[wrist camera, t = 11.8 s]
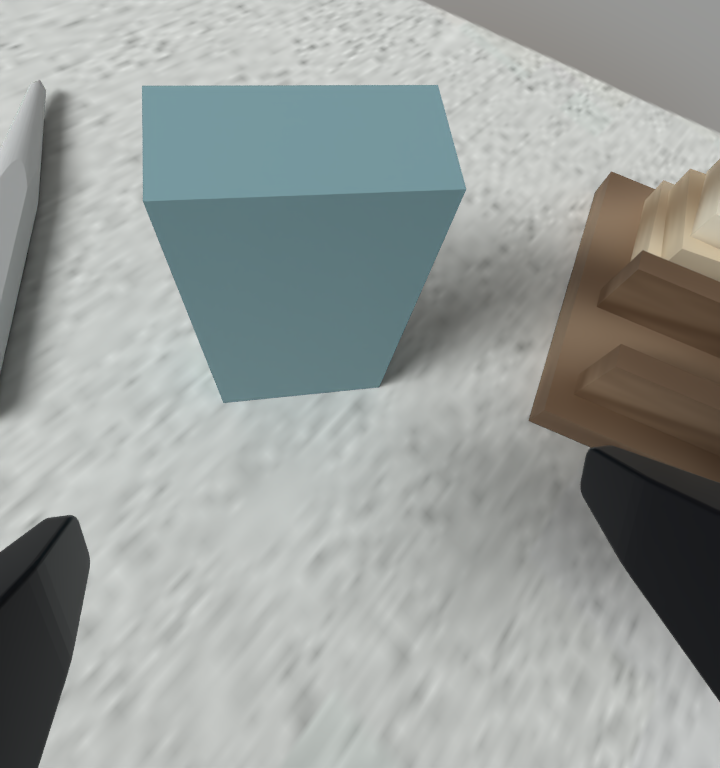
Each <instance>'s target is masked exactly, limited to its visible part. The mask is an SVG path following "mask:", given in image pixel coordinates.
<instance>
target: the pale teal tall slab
mask: <svg viewBox="0 0 720 768" xmlns="http://www.w3.org/2000/svg"><path fill="white" fill-rule="evenodd" d="M142 125H143V202H144V205H145V207H146V210H147V212H148V215H149V217H150V220H151V222H152V225H153V227H154V230H155V232H156V235H157V237H158V240H159V242H160V245H161V248H162V250H163V253H164V255H165V258H166V260H167V263H168V265H169V268H170V270H171V273H172V275H173V278H174V280H175V283H176V285H177V288H178V290H179V293H180V295H181V298H182V300H183V303H184V305H185V308H186V310H187V313H188V315H189V318H190V320H191V323H192V325H193V328H194V330H195V333H196V335H197V338H198V340H199V343H200V345H201V348H202V350H203V353H204V355H205V358H206V360H207V363H208V365H209V368H210V370H211V373H212V375H213V378H214V380H215V383H216V385H217V388H218V390H219V393H220V395H221V398H222V400H223V403H228V402H238V401H248V400H257V399H267V398H277V397H287V396H297V395H307V394H317V393H327V392H336V391H346V390H356V389H366V388H376V387H379V386H380V384H381V381H382V379H383V377H384V375H385V372H386V370H387V368H388V366H389V363H390V361H391V359H392V356H393V354H394V352H395V350H396V347H397V345H398V343H399V341H400V338H401V336H402V334H403V331H404V329H405V327H406V325H407V322H408V320H409V318H410V316H411V313H412V311H413V309H414V307H415V304H416V302H417V300H418V297H419V295H420V293H421V291H422V288H423V286H424V284H425V282H426V279H427V277H428V275H429V273H430V270H431V268H432V266H433V263H434V261H435V259H436V257H437V254H438V252H439V250H440V248H441V245H442V243H443V241H444V238H445V236H446V234H447V232H448V229H449V227H450V225H451V223H452V220H453V218H454V216H455V214H456V211H457V209H458V207H459V204H460V202H461V200H462V198H463V195H464V193H465V191H466V187H465V183H464V179H463V176H462V172H461V168H460V165H459V161H458V157H457V154H456V150H455V146H454V143H453V139H452V135H451V132H450V128H449V124H448V121H447V117H446V113H445V110H444V106H443V102H442V99H441V95H440V91H439V88H438V85H298V86H142Z"/></svg>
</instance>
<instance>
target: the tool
mask: <svg viewBox="0 0 720 768" xmlns="http://www.w3.org/2000/svg"><path fill="white" fill-rule="evenodd" d="M45 98H46V90H45V88H44V86H43V84H42V83H41V81H40V80H38V81H35V82H33V83H31V84H30V86H29V88H28V90H27V92H26V94H25V96H24V99H23V101H22V103H21V105H20V107H19V109H18V112H17V114H16V116H15V118H14V120H13V122H12V125H11V127H10V129H9V131H8V133H7V135H6V138H5V140H4V142H3V144H2V146H1V149H0V373H1V368H2V364H3V359H4V355H5V350H6V346H7V341H8V337H9V332H10V328H11V323H12V319H13V314H14V310H15V305H16V301H17V296H18V292H19V287H20V283H21V278H22V274H23V269H24V265H25V260H26V256H27V251H28V247H29V243H30V238H31V234H32V229H33V225H34V220H35V216H36V211H37V207H38V199H39V185H40V170H41V156H42V141H43V127H44V112H45Z"/></svg>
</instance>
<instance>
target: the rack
mask: <svg viewBox="0 0 720 768" xmlns="http://www.w3.org/2000/svg"><path fill="white" fill-rule="evenodd" d="M654 190H655V189H653V188H650V187H648V186H646V185H643V184H641V183H638V182H636V181H633V180H631V179H628V178H626V177H623V176H621V175H619V174H616V173H614V172H611V173H610V174H609V175H608V177H607V178H606V179H605V180H604V182H603V183H602V184H601V186H600V187H599V188H598V189H597V191H596V192H595V195H594V198H593V202H592V205H591V209H590V212H589V215H588V219H587V222H586V226H585V229H584V233H583V236H582V239H581V243H580V246H579V250H578V253H577V257H576V260H575V263H574V267H573V270H572V274H571V277H570V280H569V284H568V287H567V291H566V294H565V298H564V301H563V304H562V308H561V311H560V315H559V318H558V322H557V325H556V328H555V332H554V335H553V339H552V342H551V346H550V349H549V352H548V356H547V359H546V363H545V366H544V370H543V373H542V376H541V380H540V383H539V387H538V390H537V394H536V397H535V400H534V404H533V407H532V411H531V414H530V418H529V421H530V422H533V423H535V424H537V425H540V426H542V427H545V428H547V429H549V430H552V431H554V432H556V433H559V434H561V435H563V436H566V437H568V438H570V439H573V440H575V441H577V442H580V443H582V444H584V445H587V446H589V447H591V448H592V447H599V446H606V445H612V446H616V447H618V448H621V449H624V450H627V451H630V452H633V453H636V454H639V455H641V456H644V457H647V458H650V459H653V460H656V461H659V462H662V463H664V464H667V465H670V466H673V467H676V468H679V469H682V470H685V471H687V472H690V473H693V474H696V475H699V476H702V477H705V478H708V479H710V480H713V481H716V482H719V483H720V282H719V281H716V280H714V279H712V278H709V277H707V276H704V275H702V274H700V273H697V272H695V271H692V270H690V269H687V268H685V267H683V266H680V265H678V264H675V263H673V262H670V261H668V260H666V259H663V258H661V257H658V256H656V255H654V254H651V253H649V252H646V251H644V250H642V251H641V252H640V253H639V254H638V255H637V256H636V257H635V258H634V259H633V260H632V261H631V257H632V253H633V248H634V244H635V240H636V236H637V232H638V227H639V223H640V219H641V215H642V211H643V206H644V202H645V200H646V199H647V198H648V197H649V196H650V195H651V193H652V192H653V191H654ZM630 261H631V262H630Z"/></svg>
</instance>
